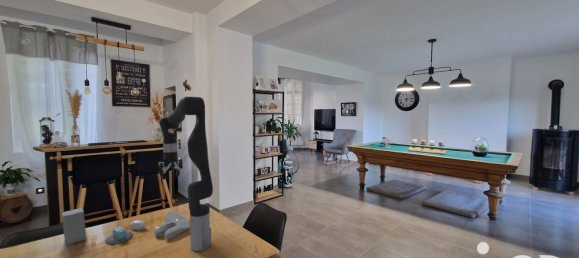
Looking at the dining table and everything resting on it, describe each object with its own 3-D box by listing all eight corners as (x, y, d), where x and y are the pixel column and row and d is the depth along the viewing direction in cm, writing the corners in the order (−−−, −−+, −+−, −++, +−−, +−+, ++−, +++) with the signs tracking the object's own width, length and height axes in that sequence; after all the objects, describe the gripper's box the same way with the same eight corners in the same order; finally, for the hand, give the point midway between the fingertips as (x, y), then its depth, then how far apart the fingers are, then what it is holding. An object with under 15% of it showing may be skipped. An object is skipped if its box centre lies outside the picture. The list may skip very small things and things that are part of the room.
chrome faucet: (175, 208, 150) (192, 218, 137) (176, 219, 151) (193, 229, 138) (144, 220, 136) (159, 231, 124) (146, 232, 137) (161, 244, 124)
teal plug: (127, 238, 127) (127, 230, 126) (120, 241, 123) (120, 233, 123) (118, 233, 132) (117, 225, 131) (110, 236, 129) (110, 228, 128)
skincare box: (85, 235, 131) (83, 206, 129) (86, 240, 125) (84, 210, 124) (63, 241, 125) (62, 211, 124) (64, 246, 120) (62, 215, 118)
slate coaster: (137, 236, 130) (137, 235, 130) (112, 246, 120) (112, 245, 119) (125, 230, 136) (125, 229, 136) (100, 240, 126) (100, 239, 126)
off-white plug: (146, 227, 140) (146, 221, 139) (142, 230, 136) (141, 223, 136) (133, 226, 141) (133, 219, 141) (129, 229, 138) (128, 222, 138)
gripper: (162, 153, 134) (163, 181, 135) (184, 149, 146) (185, 175, 148) (154, 151, 138) (155, 179, 139) (177, 148, 150) (177, 174, 151)
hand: (171, 177), depth 143 cm, fingers open, 8 cm apart
